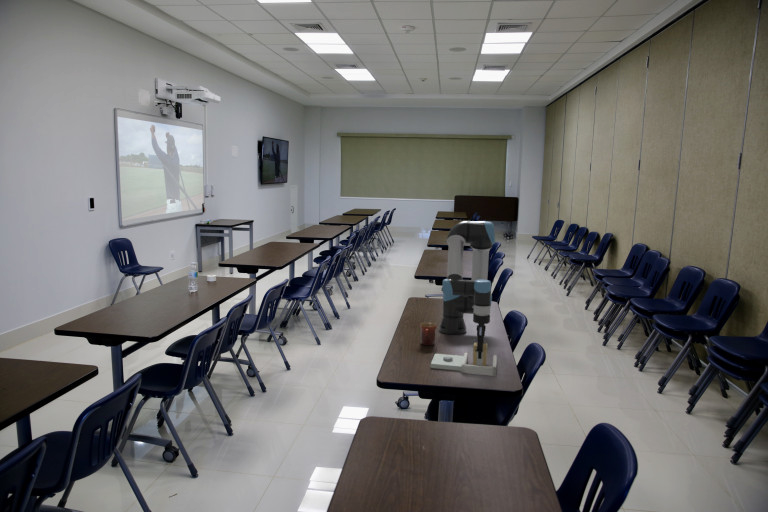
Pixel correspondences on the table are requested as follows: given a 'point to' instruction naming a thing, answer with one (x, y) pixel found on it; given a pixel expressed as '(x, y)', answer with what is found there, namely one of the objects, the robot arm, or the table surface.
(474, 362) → the chute block
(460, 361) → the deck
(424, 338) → the mug
